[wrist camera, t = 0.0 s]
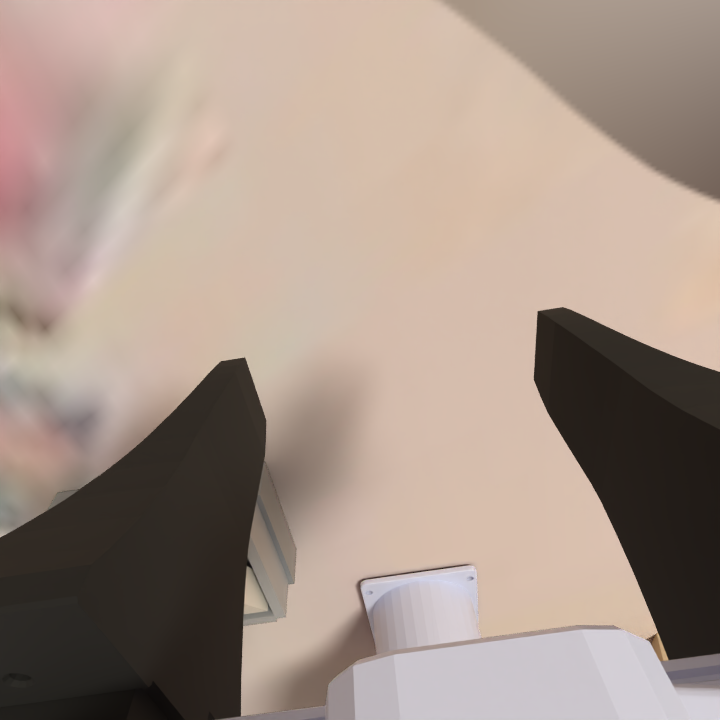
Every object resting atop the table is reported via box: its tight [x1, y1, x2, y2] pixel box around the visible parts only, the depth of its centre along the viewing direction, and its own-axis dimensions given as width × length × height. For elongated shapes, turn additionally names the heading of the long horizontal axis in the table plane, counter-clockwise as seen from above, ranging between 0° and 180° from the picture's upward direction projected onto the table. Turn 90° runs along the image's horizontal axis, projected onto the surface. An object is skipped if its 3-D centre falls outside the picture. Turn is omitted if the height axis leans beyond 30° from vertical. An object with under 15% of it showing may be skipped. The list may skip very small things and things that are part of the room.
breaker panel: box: [47, 462, 296, 626], centre depth 28 cm, size 8×12×5 cm, turn 99°
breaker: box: [244, 566, 268, 614], centre depth 26 cm, size 6×3×2 cm, turn 9°
